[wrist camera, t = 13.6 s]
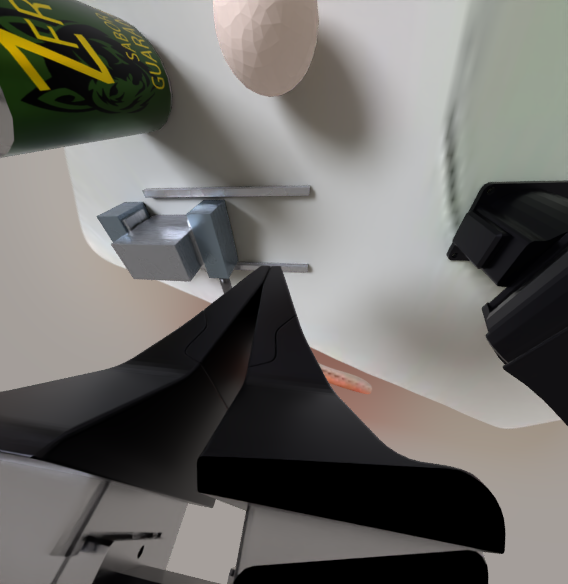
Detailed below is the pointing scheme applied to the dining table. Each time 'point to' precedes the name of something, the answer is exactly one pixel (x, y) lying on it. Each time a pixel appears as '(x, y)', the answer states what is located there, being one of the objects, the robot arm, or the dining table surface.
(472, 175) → the dining table surface
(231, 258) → the block
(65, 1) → the green soda can
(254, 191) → the vise bed
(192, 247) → the steel block
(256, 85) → the egg
